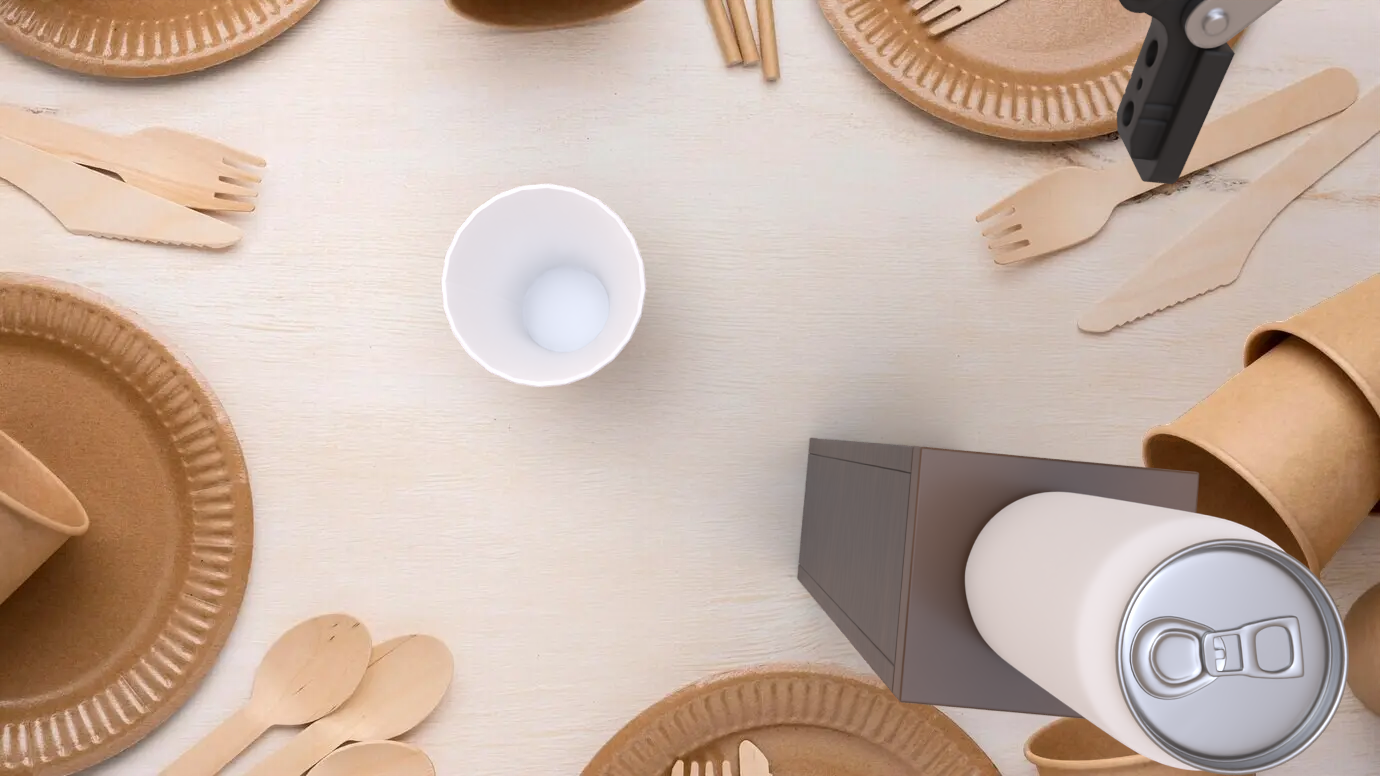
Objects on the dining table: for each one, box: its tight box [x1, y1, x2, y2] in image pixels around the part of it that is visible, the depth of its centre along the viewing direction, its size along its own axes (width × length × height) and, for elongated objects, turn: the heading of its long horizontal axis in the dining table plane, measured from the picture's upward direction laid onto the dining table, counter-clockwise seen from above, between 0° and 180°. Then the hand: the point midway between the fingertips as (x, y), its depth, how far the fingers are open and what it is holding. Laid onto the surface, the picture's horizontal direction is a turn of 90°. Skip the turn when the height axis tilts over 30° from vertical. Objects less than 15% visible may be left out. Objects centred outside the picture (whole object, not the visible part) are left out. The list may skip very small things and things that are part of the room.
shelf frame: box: [797, 437, 916, 694], centre depth 53 cm, size 10×9×29 cm
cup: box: [440, 182, 647, 389], centre depth 60 cm, size 10×10×14 cm
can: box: [965, 492, 1350, 776], centre depth 31 cm, size 6×6×12 cm
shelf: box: [892, 445, 1200, 720], centre depth 38 cm, size 10×9×1 cm
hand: (1310, 183), depth 28 cm, fingers open, 8 cm apart
